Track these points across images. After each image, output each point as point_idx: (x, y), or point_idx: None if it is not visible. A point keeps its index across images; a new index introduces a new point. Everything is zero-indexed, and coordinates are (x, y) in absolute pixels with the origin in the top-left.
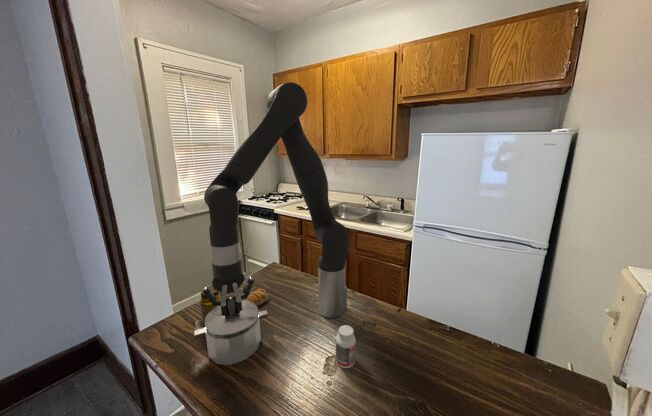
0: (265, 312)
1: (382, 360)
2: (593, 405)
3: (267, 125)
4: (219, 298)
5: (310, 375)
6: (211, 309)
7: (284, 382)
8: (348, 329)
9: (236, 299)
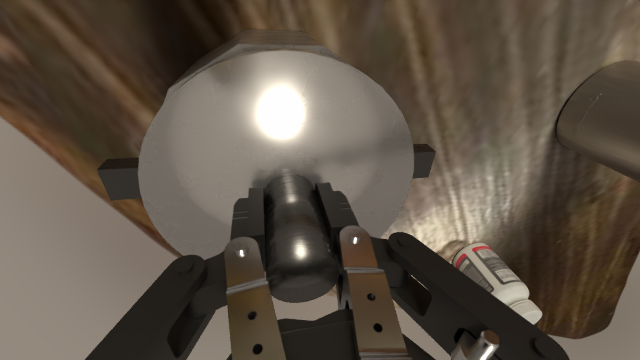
0: (425, 166)
1: (511, 268)
2: (579, 337)
3: None
4: None
5: None
6: None
7: None
8: (530, 321)
9: (336, 253)
